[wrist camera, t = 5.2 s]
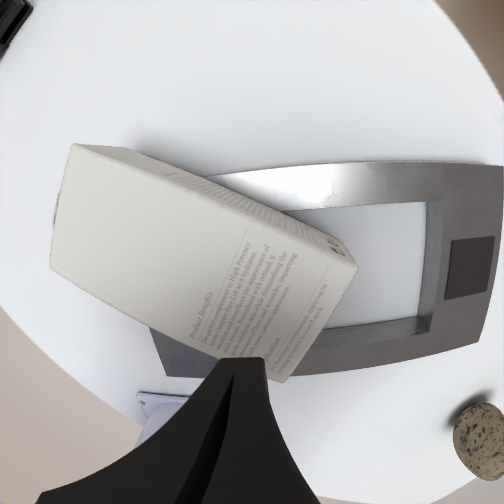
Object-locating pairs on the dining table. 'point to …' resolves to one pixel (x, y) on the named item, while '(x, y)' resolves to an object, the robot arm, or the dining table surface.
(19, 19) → the end cap
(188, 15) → the dining table surface
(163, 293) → the skincare box
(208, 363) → the plate
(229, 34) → the dining table surface
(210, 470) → the robot arm
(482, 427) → the decorative egg
